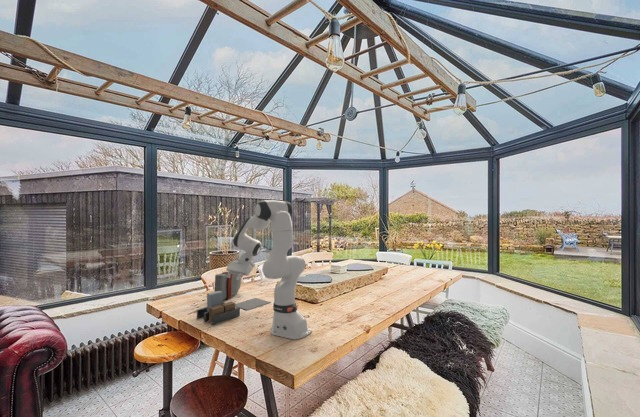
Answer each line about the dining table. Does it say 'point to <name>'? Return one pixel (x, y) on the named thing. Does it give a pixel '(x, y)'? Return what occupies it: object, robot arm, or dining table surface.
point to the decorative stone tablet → (227, 284)
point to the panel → (214, 299)
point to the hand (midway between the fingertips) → (231, 278)
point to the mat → (251, 303)
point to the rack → (218, 315)
